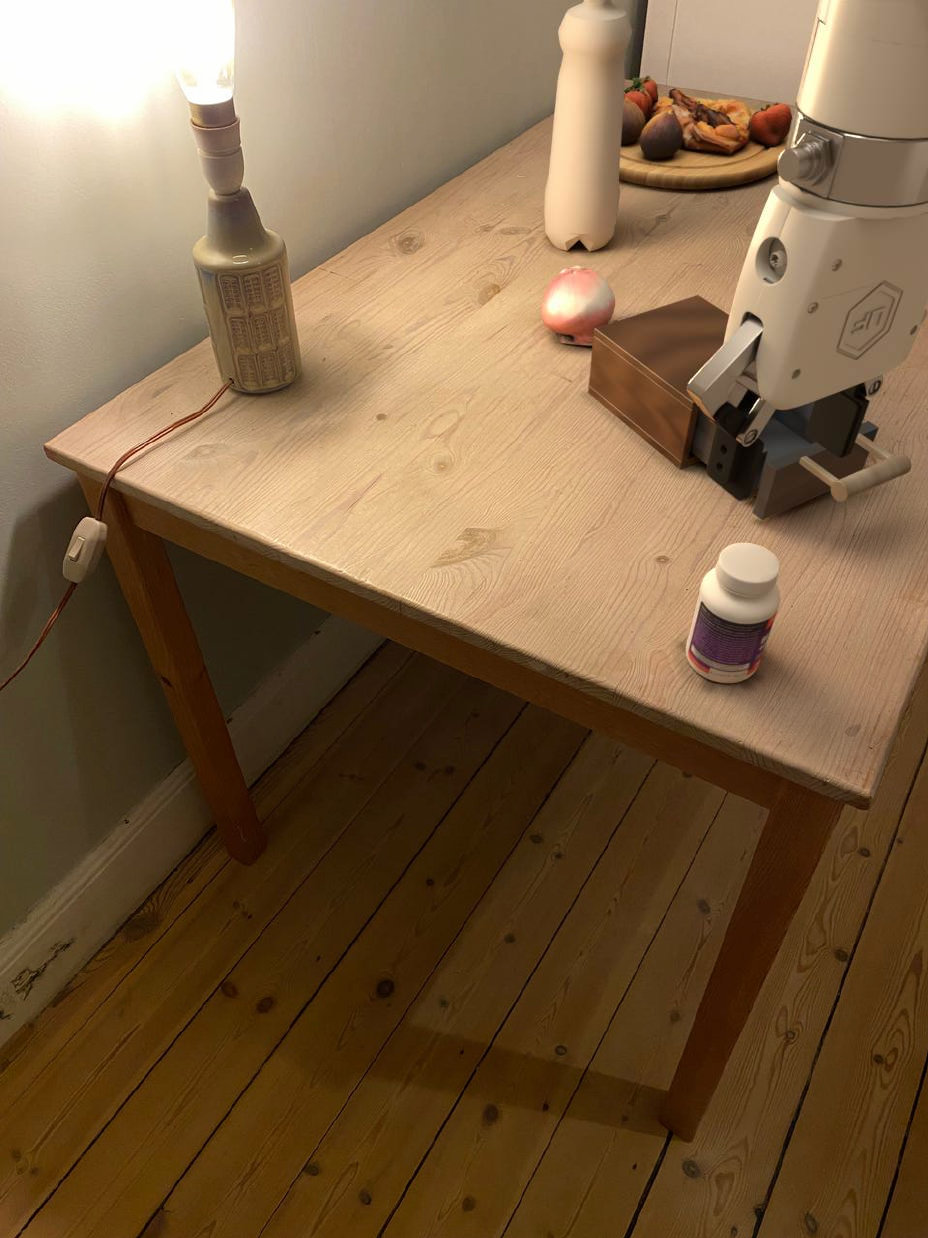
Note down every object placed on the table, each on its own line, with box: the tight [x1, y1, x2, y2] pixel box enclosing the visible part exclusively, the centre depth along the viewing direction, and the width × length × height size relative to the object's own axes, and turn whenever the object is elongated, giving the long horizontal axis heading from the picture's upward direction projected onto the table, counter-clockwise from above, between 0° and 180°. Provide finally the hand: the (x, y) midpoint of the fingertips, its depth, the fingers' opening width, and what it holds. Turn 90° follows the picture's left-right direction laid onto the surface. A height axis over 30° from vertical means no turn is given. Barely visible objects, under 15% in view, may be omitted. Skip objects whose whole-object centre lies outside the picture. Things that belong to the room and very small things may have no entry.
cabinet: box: [587, 294, 757, 470], centre depth 87 cm, size 15×13×7 cm
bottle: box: [543, 0, 633, 252], centre depth 104 cm, size 9×9×30 cm
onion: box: [540, 265, 618, 347], centre depth 97 cm, size 8×8×7 cm
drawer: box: [690, 390, 912, 521], centre depth 79 cm, size 19×11×6 cm, turn 30°
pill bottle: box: [685, 542, 781, 684], centre depth 64 cm, size 5×5×10 cm
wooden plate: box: [619, 75, 793, 190], centre depth 132 cm, size 32×32×8 cm
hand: (778, 463), depth 55 cm, fingers open, 7 cm apart
